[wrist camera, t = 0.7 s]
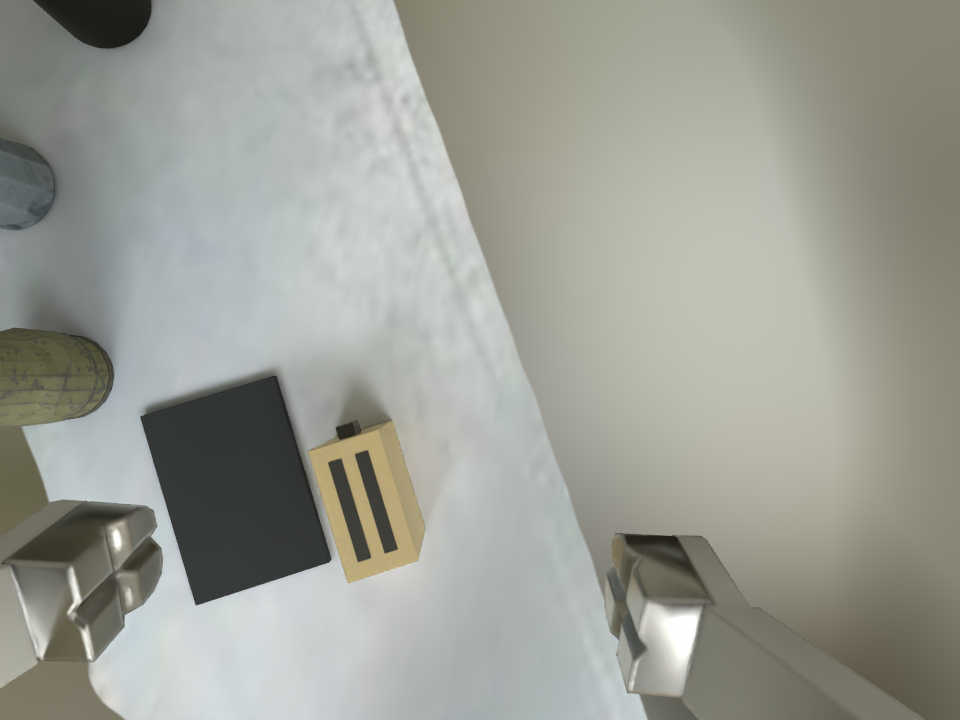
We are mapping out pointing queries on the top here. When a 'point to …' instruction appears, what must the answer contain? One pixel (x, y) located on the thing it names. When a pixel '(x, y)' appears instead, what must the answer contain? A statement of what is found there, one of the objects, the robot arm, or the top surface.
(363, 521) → the toaster
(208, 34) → the top surface
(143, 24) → the mug
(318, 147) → the top surface
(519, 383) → the top surface
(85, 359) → the thermos
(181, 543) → the mat
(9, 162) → the moka pot
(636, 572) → the robot arm
